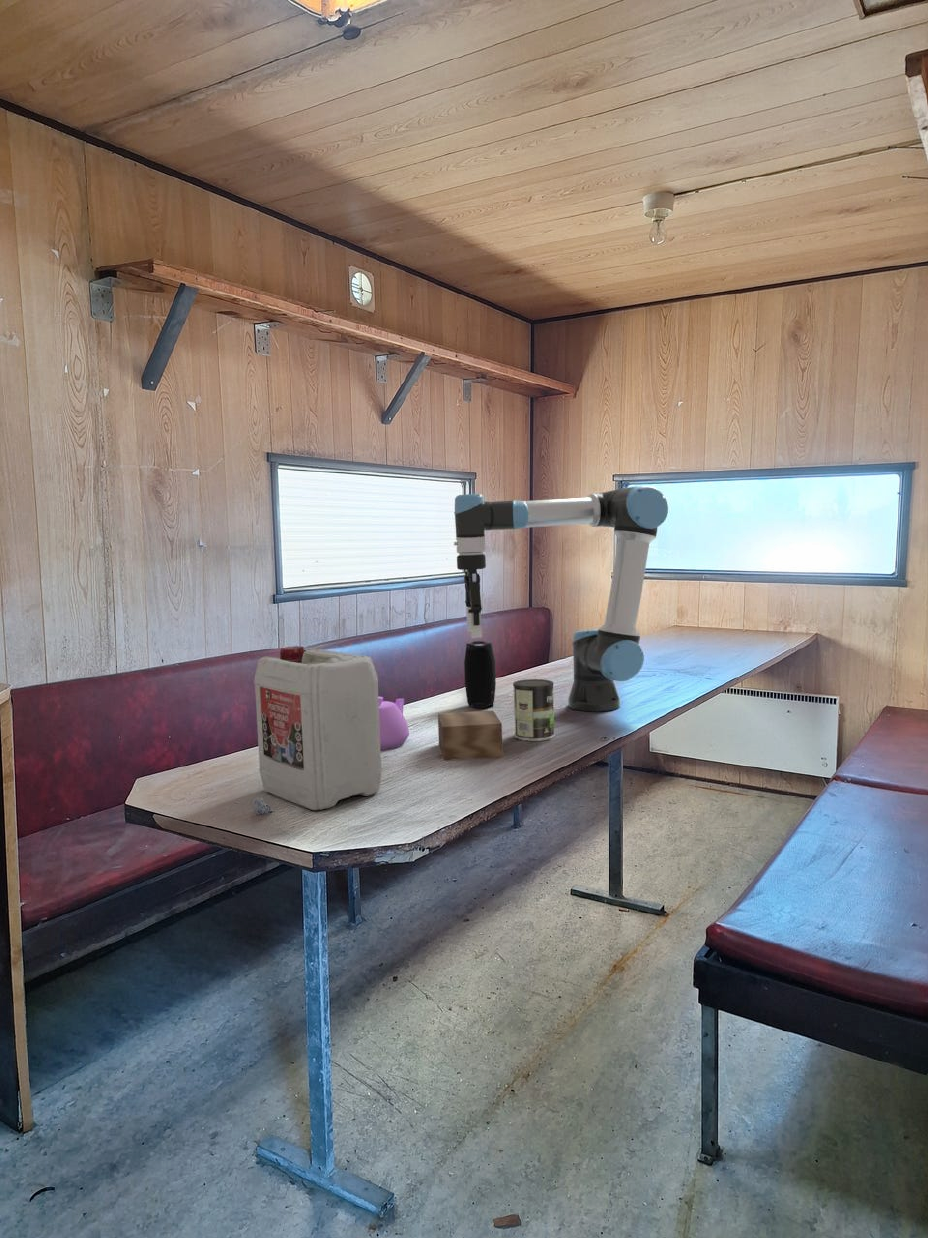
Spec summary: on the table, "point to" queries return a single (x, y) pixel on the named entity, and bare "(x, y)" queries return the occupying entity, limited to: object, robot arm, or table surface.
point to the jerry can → (318, 726)
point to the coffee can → (533, 709)
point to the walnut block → (470, 735)
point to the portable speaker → (479, 674)
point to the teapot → (392, 724)
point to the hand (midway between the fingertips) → (474, 634)
